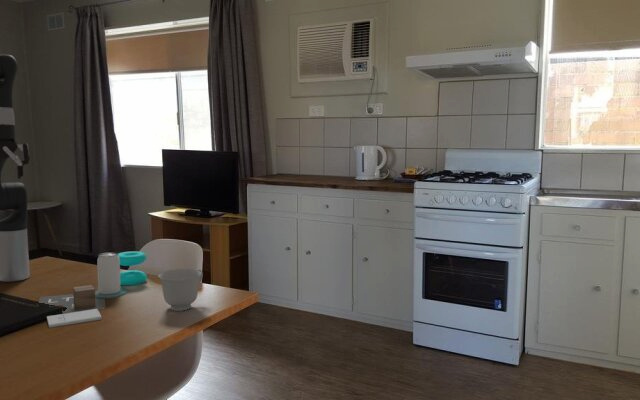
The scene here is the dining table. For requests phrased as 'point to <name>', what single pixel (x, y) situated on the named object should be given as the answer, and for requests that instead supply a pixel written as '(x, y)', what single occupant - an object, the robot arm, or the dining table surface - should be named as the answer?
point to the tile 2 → (98, 302)
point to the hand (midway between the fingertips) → (3, 178)
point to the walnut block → (84, 296)
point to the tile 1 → (56, 299)
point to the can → (108, 273)
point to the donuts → (133, 275)
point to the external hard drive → (73, 318)
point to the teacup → (180, 287)
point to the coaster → (122, 292)
